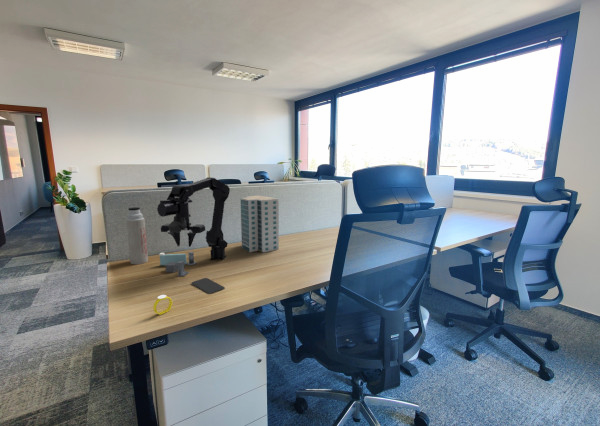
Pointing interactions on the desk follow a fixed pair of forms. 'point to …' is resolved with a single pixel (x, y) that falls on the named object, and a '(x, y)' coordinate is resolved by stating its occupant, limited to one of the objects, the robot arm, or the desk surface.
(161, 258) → the light blue bar
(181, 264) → the grey block
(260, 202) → the building model
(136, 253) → the thermos bottle
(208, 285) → the phone
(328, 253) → the desk surface
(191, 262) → the post
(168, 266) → the dark gray cube
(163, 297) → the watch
